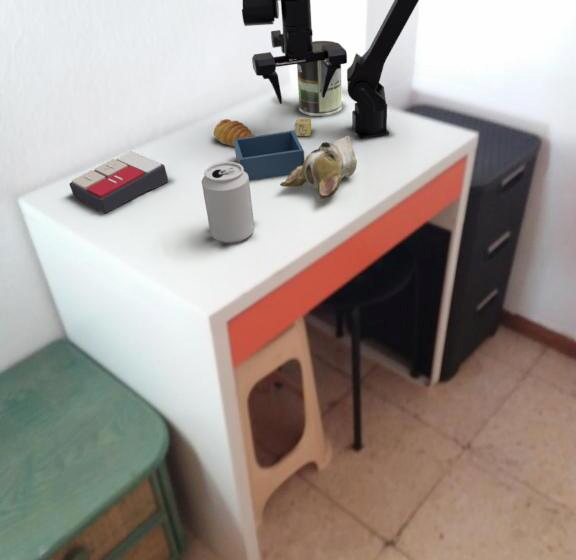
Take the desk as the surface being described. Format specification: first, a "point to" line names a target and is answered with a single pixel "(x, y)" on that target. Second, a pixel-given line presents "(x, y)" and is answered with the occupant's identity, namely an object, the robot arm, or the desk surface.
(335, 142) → the ceramic sculpture
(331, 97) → the coffee can
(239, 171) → the can
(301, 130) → the alphabet block
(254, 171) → the blue open box
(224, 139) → the pastry
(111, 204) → the multicoloured piece
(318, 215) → the desk surface
